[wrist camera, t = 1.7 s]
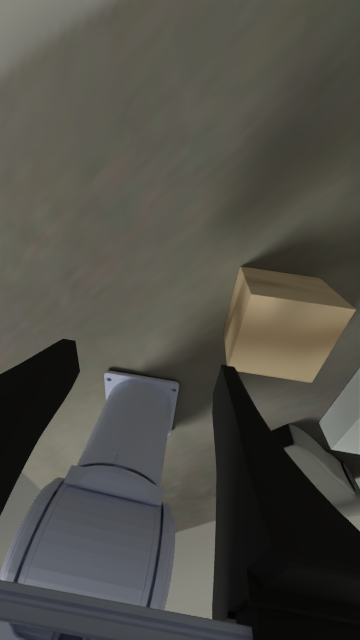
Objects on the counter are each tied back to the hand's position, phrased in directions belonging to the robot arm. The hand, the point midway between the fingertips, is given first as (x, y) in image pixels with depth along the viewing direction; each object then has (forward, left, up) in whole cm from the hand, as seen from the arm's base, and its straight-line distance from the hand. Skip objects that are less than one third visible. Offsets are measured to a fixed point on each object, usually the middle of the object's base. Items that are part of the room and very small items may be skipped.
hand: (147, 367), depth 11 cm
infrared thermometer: (-23, -18, -10) cm, 30 cm away
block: (0, -8, -9) cm, 12 cm away
